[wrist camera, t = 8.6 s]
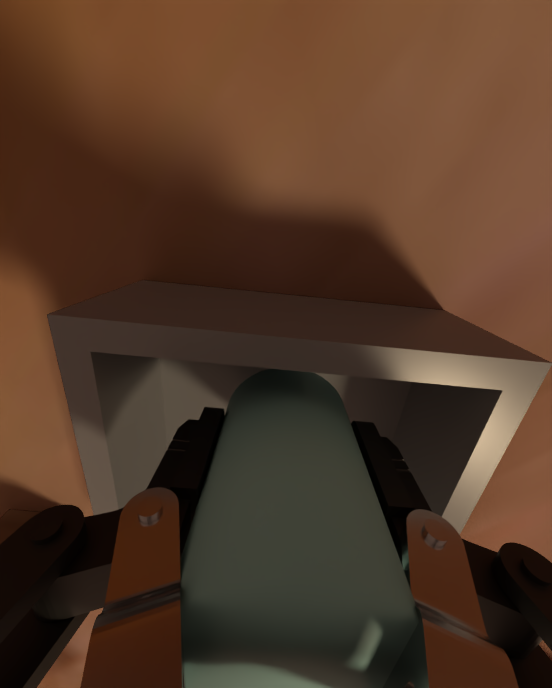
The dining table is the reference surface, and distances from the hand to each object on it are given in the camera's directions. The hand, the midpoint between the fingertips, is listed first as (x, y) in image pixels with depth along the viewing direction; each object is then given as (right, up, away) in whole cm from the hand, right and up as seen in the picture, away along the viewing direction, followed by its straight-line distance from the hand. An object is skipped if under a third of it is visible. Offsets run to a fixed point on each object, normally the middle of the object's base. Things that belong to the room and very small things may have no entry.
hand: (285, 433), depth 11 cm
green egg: (0, 0, +1) cm, 1 cm away
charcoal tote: (0, -2, +5) cm, 6 cm away
